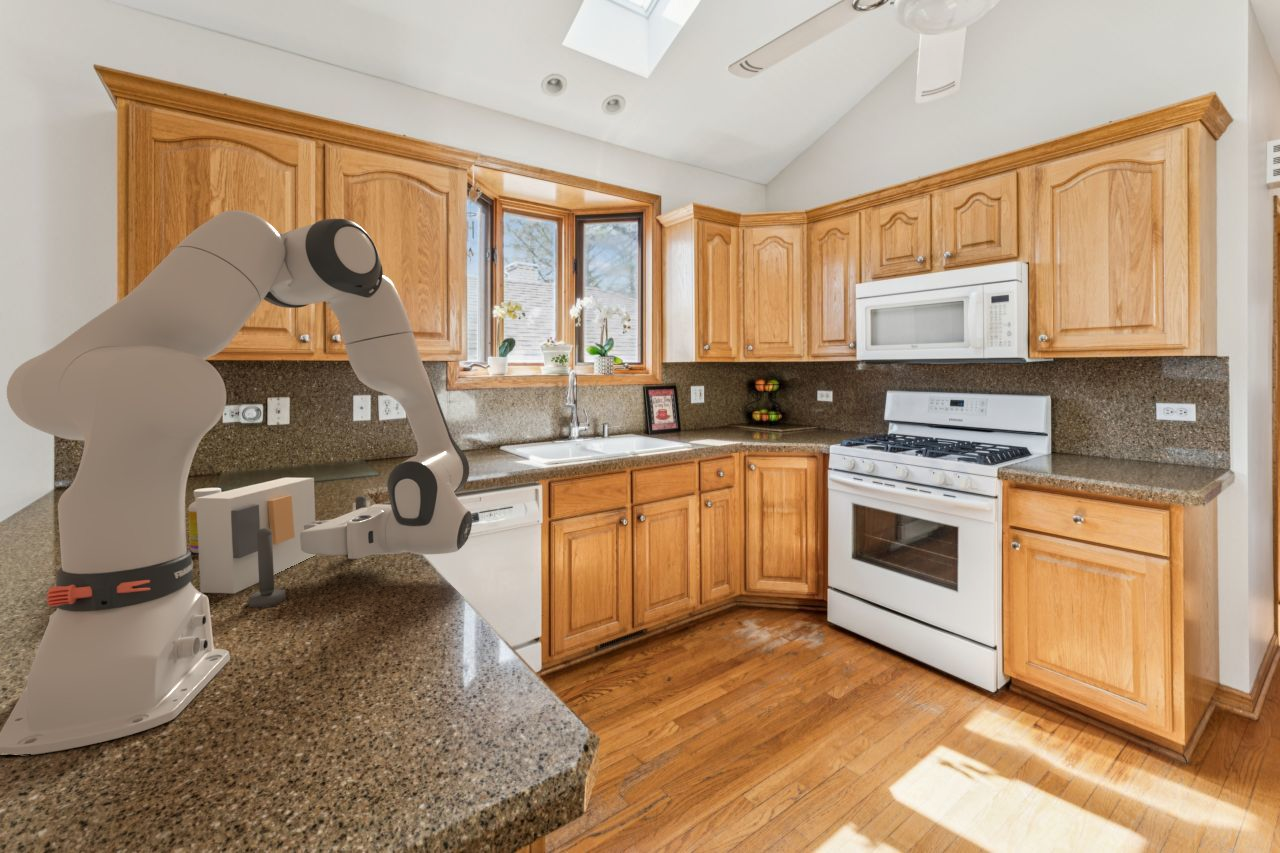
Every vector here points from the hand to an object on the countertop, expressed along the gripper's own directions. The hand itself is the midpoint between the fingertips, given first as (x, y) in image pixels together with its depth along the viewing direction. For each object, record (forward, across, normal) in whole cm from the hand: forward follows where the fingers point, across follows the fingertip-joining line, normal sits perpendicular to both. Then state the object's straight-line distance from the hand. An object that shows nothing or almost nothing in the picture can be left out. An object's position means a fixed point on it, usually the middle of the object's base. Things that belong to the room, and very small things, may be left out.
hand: (308, 527), depth 108 cm
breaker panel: (+9, 0, +9) cm, 12 cm away
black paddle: (+5, +9, +3) cm, 10 cm away
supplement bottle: (+31, -13, +9) cm, 35 cm away
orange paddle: (+5, 0, +3) cm, 6 cm away
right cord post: (-2, -14, +9) cm, 16 cm away
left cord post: (-2, +14, +9) cm, 17 cm away
